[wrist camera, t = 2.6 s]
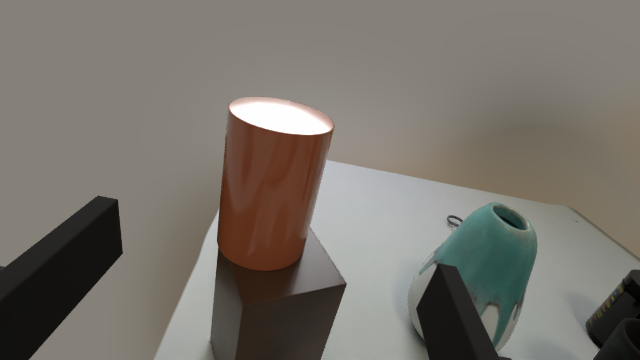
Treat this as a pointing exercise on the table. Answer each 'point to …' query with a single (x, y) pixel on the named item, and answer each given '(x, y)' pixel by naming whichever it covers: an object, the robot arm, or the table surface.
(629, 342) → the cup
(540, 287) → the table surface
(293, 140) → the orange glossy cylinder
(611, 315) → the supplement container
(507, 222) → the vase
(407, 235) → the table surface
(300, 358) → the dark brown rectangular block
